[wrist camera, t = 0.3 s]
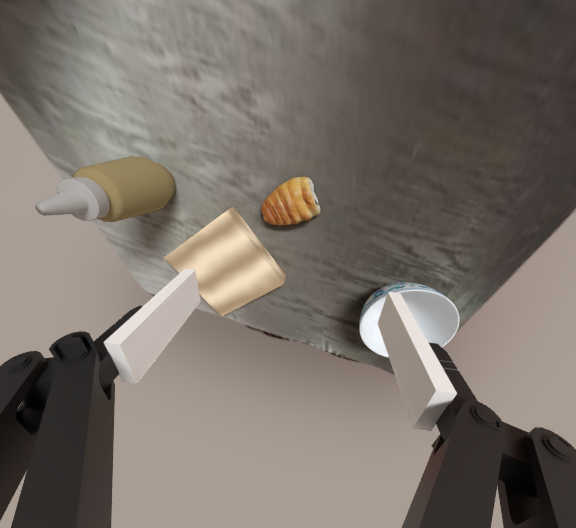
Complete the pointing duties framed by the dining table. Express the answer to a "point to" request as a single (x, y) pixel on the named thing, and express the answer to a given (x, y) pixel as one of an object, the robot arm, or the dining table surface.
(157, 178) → the squeeze bottle
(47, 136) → the dining table surface
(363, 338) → the chinaware
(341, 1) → the dining table surface
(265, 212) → the pastry
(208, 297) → the serving board
